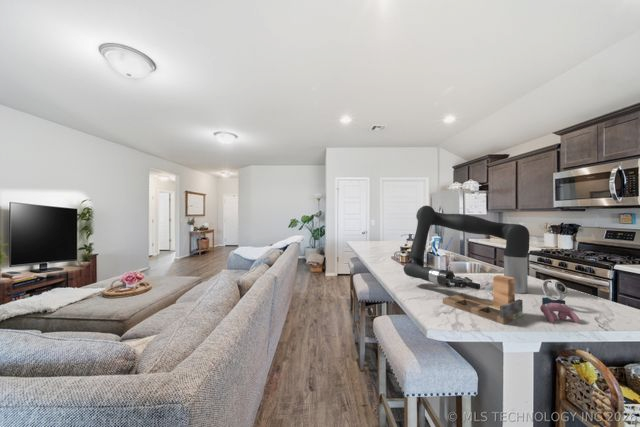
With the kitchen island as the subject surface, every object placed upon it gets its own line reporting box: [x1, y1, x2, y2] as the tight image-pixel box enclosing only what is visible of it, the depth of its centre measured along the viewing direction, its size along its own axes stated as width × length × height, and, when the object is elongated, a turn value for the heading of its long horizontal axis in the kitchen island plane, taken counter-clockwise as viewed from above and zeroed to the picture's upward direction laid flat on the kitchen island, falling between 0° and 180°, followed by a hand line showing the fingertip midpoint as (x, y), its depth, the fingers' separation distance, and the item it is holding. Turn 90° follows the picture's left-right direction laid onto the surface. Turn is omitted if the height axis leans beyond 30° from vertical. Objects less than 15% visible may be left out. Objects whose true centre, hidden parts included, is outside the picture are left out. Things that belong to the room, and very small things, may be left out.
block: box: [492, 274, 516, 309], centre depth 94 cm, size 5×5×12 cm
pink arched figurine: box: [539, 303, 581, 324], centre depth 88 cm, size 10×5×7 cm, turn 86°
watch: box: [541, 279, 568, 306], centre depth 100 cm, size 6×8×11 cm
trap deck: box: [442, 292, 524, 325], centre depth 98 cm, size 14×23×6 cm, turn 29°
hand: (479, 286), depth 102 cm, fingers closed
